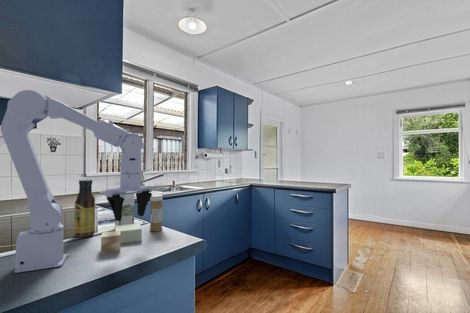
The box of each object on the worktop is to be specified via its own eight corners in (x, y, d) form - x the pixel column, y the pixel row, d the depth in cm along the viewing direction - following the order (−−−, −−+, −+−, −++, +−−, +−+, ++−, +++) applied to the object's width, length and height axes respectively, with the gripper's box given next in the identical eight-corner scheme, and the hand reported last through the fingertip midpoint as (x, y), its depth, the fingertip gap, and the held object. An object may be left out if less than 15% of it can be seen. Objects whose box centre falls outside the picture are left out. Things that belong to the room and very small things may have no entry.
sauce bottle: (73, 234, 89) (74, 179, 89) (93, 231, 93) (94, 178, 93) (75, 239, 84) (75, 180, 84) (96, 236, 88) (96, 179, 88)
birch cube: (101, 254, 72) (101, 237, 72) (102, 248, 76) (102, 232, 76) (120, 251, 74) (120, 235, 74) (120, 246, 78) (120, 230, 78)
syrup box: (129, 225, 103) (130, 189, 103) (134, 228, 98) (134, 191, 98) (114, 227, 99) (115, 190, 99) (118, 230, 94) (119, 192, 94)
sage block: (115, 244, 80) (115, 231, 80) (115, 236, 87) (115, 225, 87) (141, 240, 83) (141, 228, 83) (139, 234, 91) (140, 223, 91)
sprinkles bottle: (151, 228, 98) (151, 194, 98) (163, 228, 98) (163, 194, 98) (148, 231, 93) (148, 196, 93) (161, 231, 94) (161, 195, 94)
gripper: (115, 174, 67) (114, 225, 67) (158, 172, 80) (157, 215, 79) (101, 173, 71) (100, 221, 71) (144, 172, 83) (144, 212, 83)
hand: (129, 218), depth 76 cm, fingers open, 7 cm apart
